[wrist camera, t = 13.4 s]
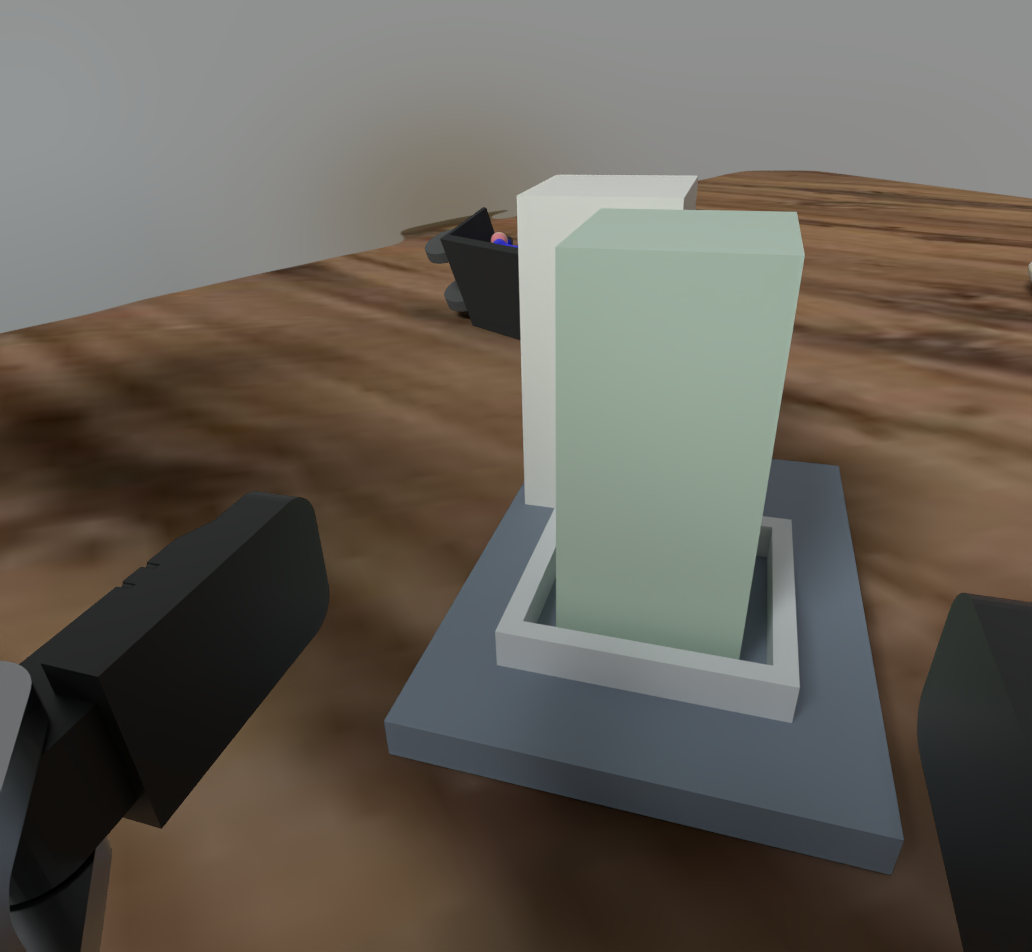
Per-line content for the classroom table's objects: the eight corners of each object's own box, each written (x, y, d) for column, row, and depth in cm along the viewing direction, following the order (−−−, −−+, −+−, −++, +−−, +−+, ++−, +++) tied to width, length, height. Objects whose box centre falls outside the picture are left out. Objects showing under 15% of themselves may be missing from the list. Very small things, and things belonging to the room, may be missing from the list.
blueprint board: (389, 753, 19) (377, 686, 18) (551, 459, 33) (551, 411, 32) (891, 875, 16) (917, 803, 15) (833, 491, 30) (844, 439, 29)
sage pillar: (556, 640, 21) (555, 247, 15) (591, 544, 25) (600, 208, 20) (736, 673, 19) (804, 255, 14) (742, 566, 24) (796, 212, 18)
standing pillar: (524, 504, 27) (516, 195, 22) (557, 446, 32) (556, 174, 26) (658, 521, 26) (684, 198, 21) (673, 458, 30) (698, 175, 25)
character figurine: (486, 306, 56) (637, 352, 47) (408, 320, 52) (557, 374, 42) (487, 199, 53) (651, 224, 43) (405, 204, 48) (566, 234, 39)
